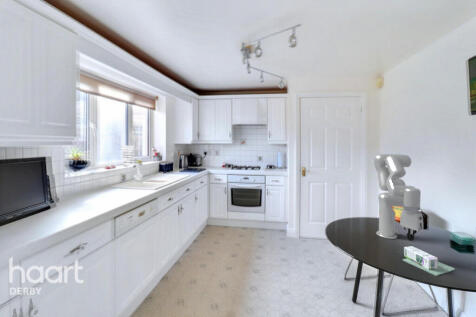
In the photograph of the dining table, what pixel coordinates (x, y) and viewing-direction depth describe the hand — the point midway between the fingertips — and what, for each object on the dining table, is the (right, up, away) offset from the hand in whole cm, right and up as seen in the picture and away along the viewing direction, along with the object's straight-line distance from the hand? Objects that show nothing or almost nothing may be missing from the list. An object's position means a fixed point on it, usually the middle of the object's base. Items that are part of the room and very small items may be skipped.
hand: (410, 240), depth 127 cm
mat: (+3, -11, -8) cm, 14 cm away
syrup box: (-1, -7, +1) cm, 7 cm away
